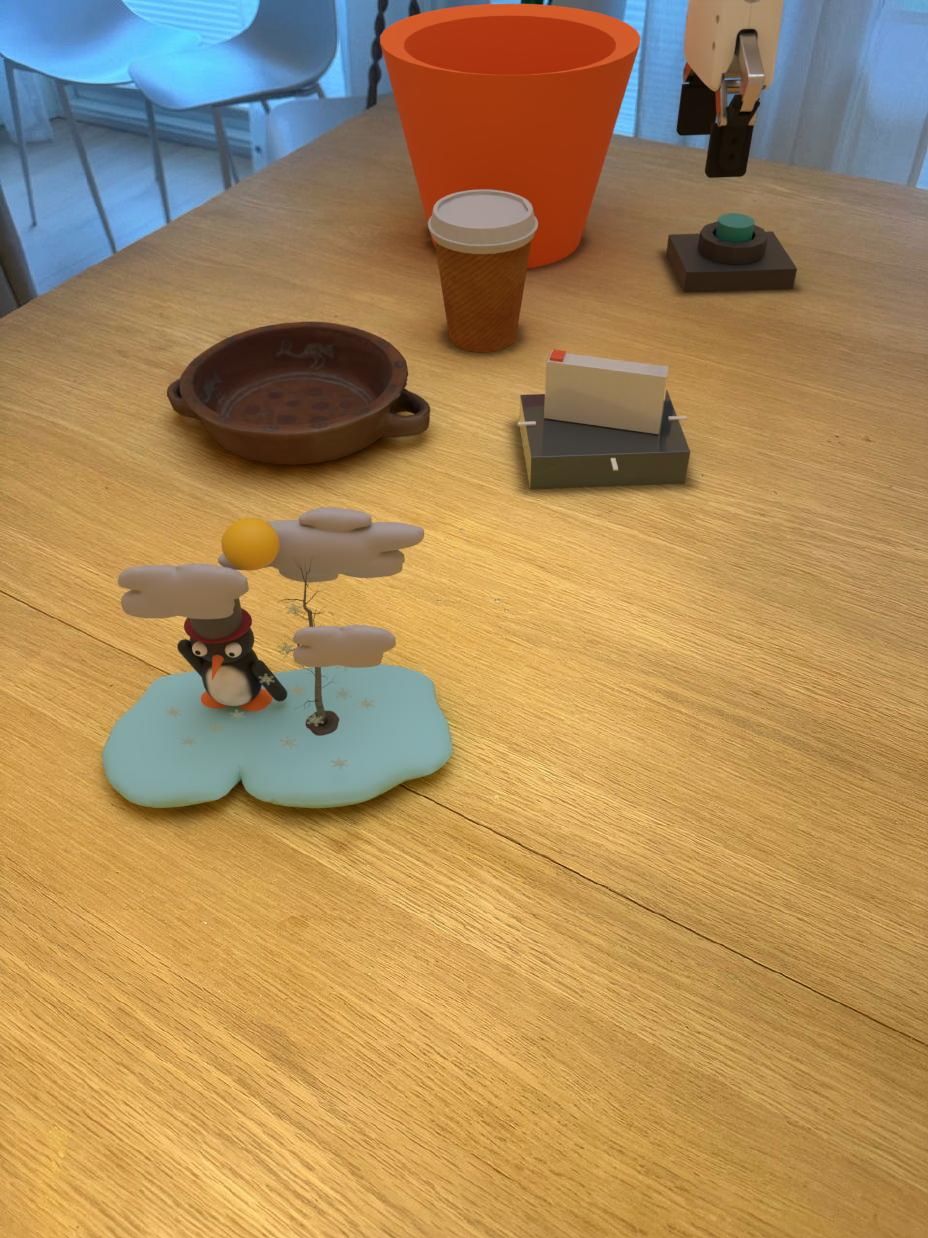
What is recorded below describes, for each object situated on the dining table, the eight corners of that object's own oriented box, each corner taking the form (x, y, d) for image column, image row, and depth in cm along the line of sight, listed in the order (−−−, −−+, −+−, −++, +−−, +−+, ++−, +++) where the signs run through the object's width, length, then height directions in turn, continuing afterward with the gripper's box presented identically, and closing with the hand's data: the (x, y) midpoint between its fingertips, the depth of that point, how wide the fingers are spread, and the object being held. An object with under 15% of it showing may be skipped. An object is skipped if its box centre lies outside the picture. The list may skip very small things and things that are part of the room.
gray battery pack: (661, 423, 82) (669, 363, 78) (658, 434, 80) (667, 373, 77) (547, 407, 83) (551, 347, 80) (543, 418, 82) (546, 358, 79)
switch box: (768, 251, 111) (776, 213, 109) (792, 289, 105) (801, 250, 102) (666, 254, 111) (670, 216, 108) (683, 293, 105) (689, 254, 102)
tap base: (665, 407, 89) (669, 373, 87) (699, 500, 79) (705, 465, 77) (509, 412, 89) (510, 379, 86) (524, 506, 79) (526, 472, 77)
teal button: (746, 229, 107) (749, 212, 106) (755, 244, 104) (758, 226, 103) (711, 230, 107) (714, 213, 106) (719, 245, 104) (722, 228, 103)
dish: (208, 363, 95) (198, 311, 92) (449, 379, 93) (448, 327, 89) (136, 473, 82) (122, 418, 79) (413, 496, 80) (410, 440, 77)
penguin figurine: (90, 821, 58) (6, 620, 48) (135, 681, 66) (71, 482, 56) (452, 819, 58) (447, 617, 48) (454, 679, 66) (449, 480, 56)
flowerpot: (536, 178, 127) (544, -8, 114) (669, 253, 111) (695, 46, 98) (351, 223, 118) (335, 25, 104) (467, 311, 102) (465, 92, 89)
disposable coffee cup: (516, 368, 94) (520, 237, 86) (416, 352, 96) (411, 222, 88) (545, 320, 100) (551, 194, 92) (451, 306, 103) (448, 181, 95)
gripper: (837, -70, 69) (785, 192, 81) (761, -114, 82) (725, 118, 94) (725, -67, 69) (689, 195, 81) (666, -112, 82) (642, 121, 93)
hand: (709, 153), depth 87 cm, fingers open, 9 cm apart
